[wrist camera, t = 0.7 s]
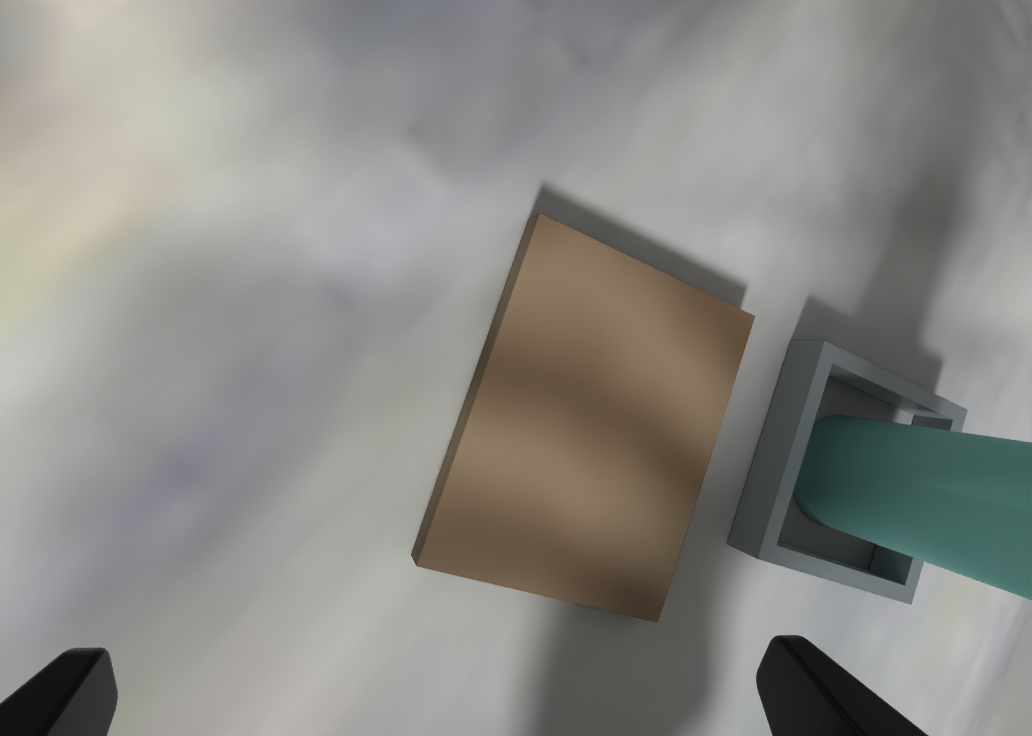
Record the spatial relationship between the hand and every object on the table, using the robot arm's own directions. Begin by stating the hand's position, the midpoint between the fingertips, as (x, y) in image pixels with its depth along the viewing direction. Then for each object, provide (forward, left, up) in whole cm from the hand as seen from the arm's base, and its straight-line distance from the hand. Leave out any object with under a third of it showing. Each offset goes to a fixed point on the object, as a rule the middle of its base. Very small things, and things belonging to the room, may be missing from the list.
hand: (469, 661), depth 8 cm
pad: (+4, -9, -15) cm, 18 cm away
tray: (+6, -23, -15) cm, 28 cm away
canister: (+6, -23, -15) cm, 28 cm away
